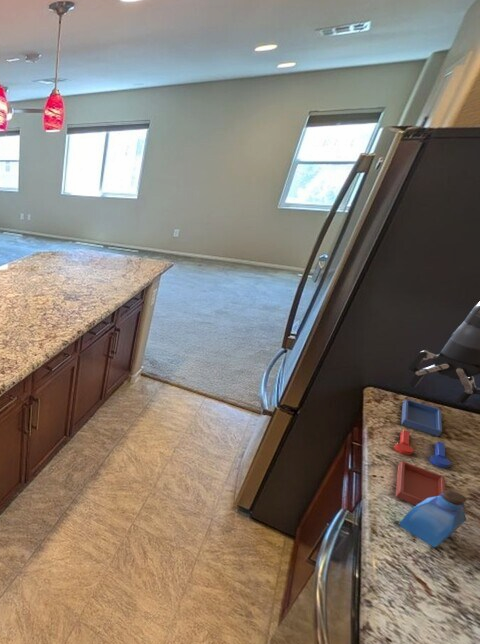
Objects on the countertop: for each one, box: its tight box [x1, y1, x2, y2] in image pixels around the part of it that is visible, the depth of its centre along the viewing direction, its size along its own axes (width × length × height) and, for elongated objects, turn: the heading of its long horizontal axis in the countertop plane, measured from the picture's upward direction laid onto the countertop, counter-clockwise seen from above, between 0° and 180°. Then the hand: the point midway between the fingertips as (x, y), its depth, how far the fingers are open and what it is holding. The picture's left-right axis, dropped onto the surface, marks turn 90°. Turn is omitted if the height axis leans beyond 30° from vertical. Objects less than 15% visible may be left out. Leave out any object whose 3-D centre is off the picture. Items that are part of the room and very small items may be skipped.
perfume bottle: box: [397, 489, 468, 548], centre depth 84 cm, size 6×6×12 cm
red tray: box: [395, 460, 446, 506], centre depth 97 cm, size 14×8×2 cm, turn 134°
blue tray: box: [400, 398, 443, 437], centre depth 119 cm, size 14×8×2 cm, turn 134°
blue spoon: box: [429, 441, 452, 469], centre depth 106 cm, size 11×4×2 cm, turn 135°
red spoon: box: [393, 429, 415, 456], centre depth 110 cm, size 11×4×2 cm, turn 135°
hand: (434, 394), depth 103 cm, fingers open, 8 cm apart
